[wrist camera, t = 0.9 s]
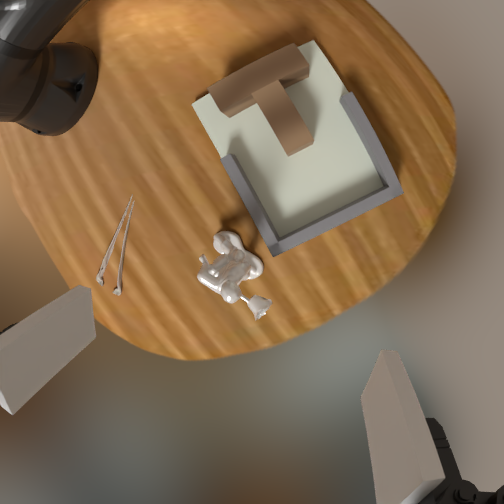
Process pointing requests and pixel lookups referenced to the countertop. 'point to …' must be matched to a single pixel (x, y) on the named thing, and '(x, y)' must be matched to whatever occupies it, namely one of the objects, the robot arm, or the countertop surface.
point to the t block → (268, 94)
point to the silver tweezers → (109, 251)
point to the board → (304, 159)
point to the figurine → (233, 272)
